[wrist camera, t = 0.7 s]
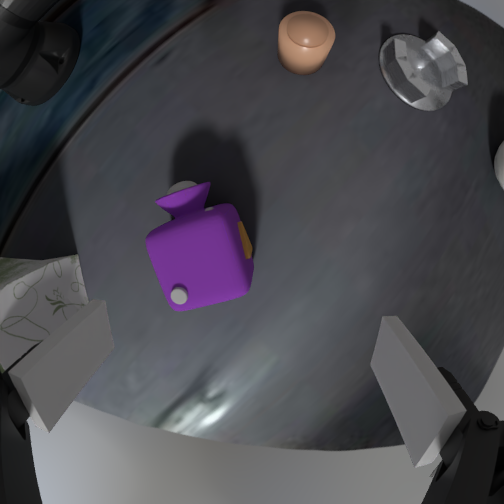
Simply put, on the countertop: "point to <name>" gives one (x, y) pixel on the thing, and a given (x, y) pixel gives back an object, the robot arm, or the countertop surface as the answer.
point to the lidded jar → (499, 164)
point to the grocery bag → (36, 301)
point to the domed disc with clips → (422, 70)
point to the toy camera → (200, 249)
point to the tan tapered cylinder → (304, 42)
